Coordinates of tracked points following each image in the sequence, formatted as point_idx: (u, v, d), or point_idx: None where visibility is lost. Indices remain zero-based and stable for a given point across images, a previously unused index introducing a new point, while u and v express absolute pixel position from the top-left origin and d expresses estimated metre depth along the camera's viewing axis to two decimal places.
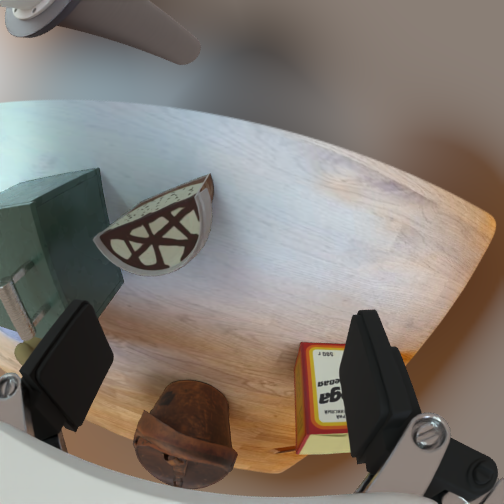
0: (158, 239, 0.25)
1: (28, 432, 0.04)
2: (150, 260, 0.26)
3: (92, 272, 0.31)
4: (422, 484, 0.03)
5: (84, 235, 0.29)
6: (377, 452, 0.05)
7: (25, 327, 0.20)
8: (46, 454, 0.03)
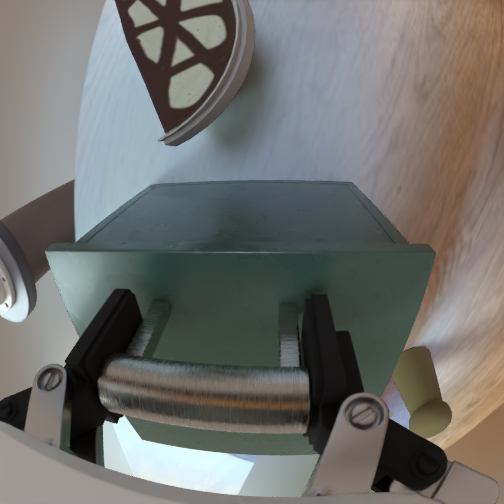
0: (167, 12, 0.10)
1: (63, 433, 0.05)
2: (214, 27, 0.10)
3: (289, 205, 0.17)
4: (351, 462, 0.04)
5: (212, 203, 0.18)
6: (318, 429, 0.06)
7: (257, 396, 0.07)
8: (46, 454, 0.03)
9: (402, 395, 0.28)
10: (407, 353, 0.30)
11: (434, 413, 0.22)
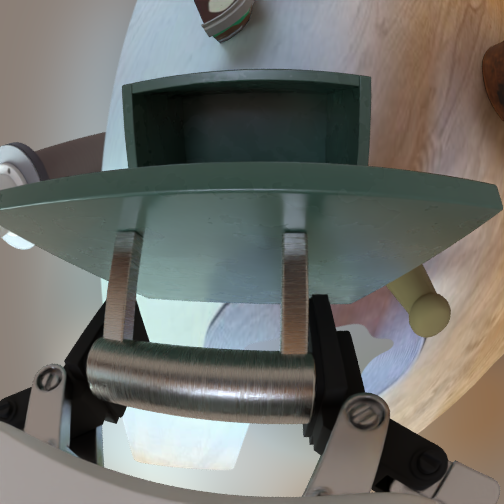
0: None
1: (62, 433, 0.05)
2: None
3: None
4: (351, 462, 0.04)
5: None
6: (319, 429, 0.06)
7: (255, 410, 0.06)
8: (46, 453, 0.03)
9: (399, 296, 0.32)
10: None
11: (432, 301, 0.26)
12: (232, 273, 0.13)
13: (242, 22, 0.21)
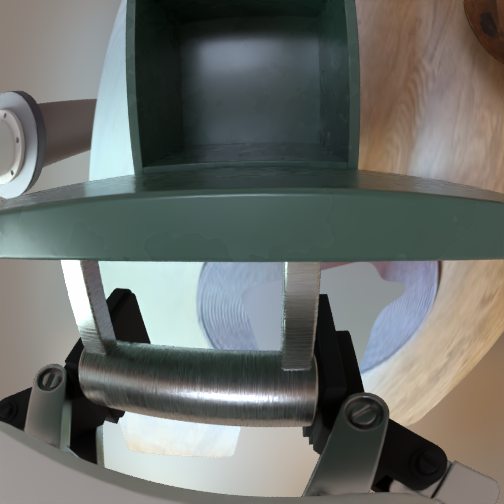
0: None
1: (63, 433, 0.05)
2: None
3: None
4: (351, 462, 0.04)
5: None
6: (318, 429, 0.06)
7: (255, 424, 0.06)
8: (46, 454, 0.03)
9: None
10: None
11: None
12: None
13: None
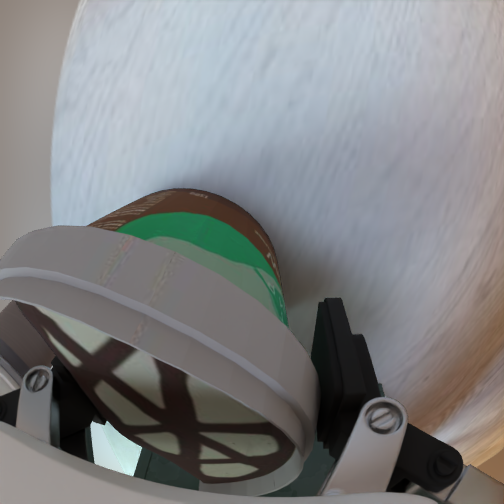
0: (174, 418, 0.06)
1: (52, 432, 0.05)
2: (260, 443, 0.07)
3: (317, 463, 0.14)
4: (372, 467, 0.04)
5: None
6: (336, 435, 0.06)
7: None
8: (46, 453, 0.03)
9: None
10: None
11: None
12: None
13: None
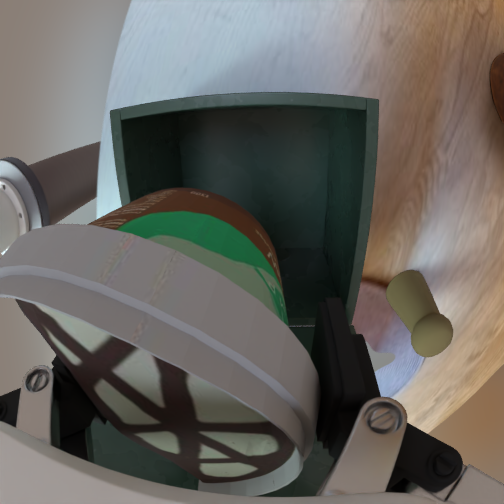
0: (174, 417, 0.06)
1: (53, 432, 0.05)
2: (259, 442, 0.07)
3: None
4: (372, 467, 0.04)
5: None
6: (335, 435, 0.06)
7: None
8: (46, 454, 0.03)
9: (401, 315, 0.31)
10: (402, 275, 0.33)
11: (434, 322, 0.25)
12: None
13: None
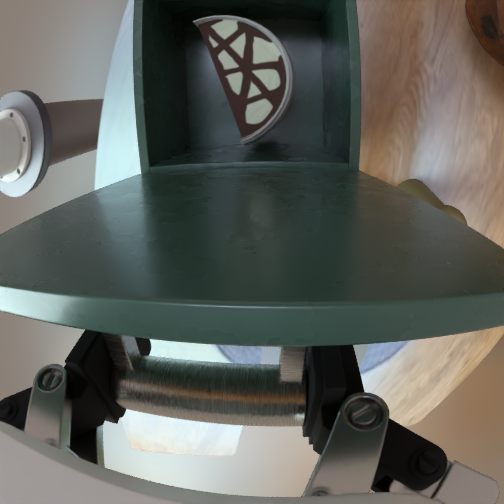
0: (244, 63, 0.19)
1: (63, 433, 0.05)
2: (273, 77, 0.20)
3: None
4: (350, 462, 0.04)
5: None
6: (318, 429, 0.06)
7: None
8: (46, 454, 0.03)
9: None
10: (405, 182, 0.32)
11: (446, 209, 0.23)
12: None
13: None
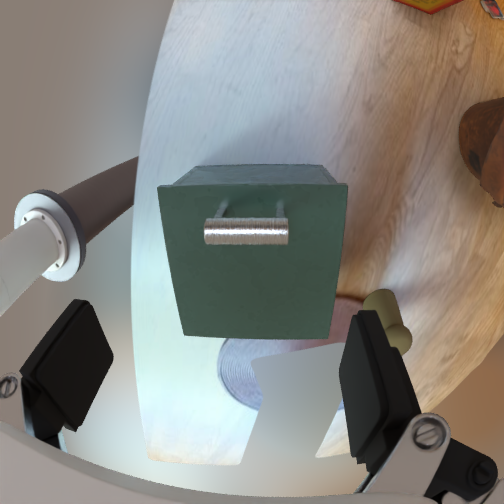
0: None
1: (28, 432, 0.04)
2: None
3: (282, 174, 0.30)
4: (422, 484, 0.03)
5: (239, 173, 0.31)
6: (377, 452, 0.05)
7: (268, 222, 0.20)
8: (46, 454, 0.03)
9: None
10: (375, 293, 0.44)
11: (395, 331, 0.35)
12: (254, 261, 0.27)
13: None
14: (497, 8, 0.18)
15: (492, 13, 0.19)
